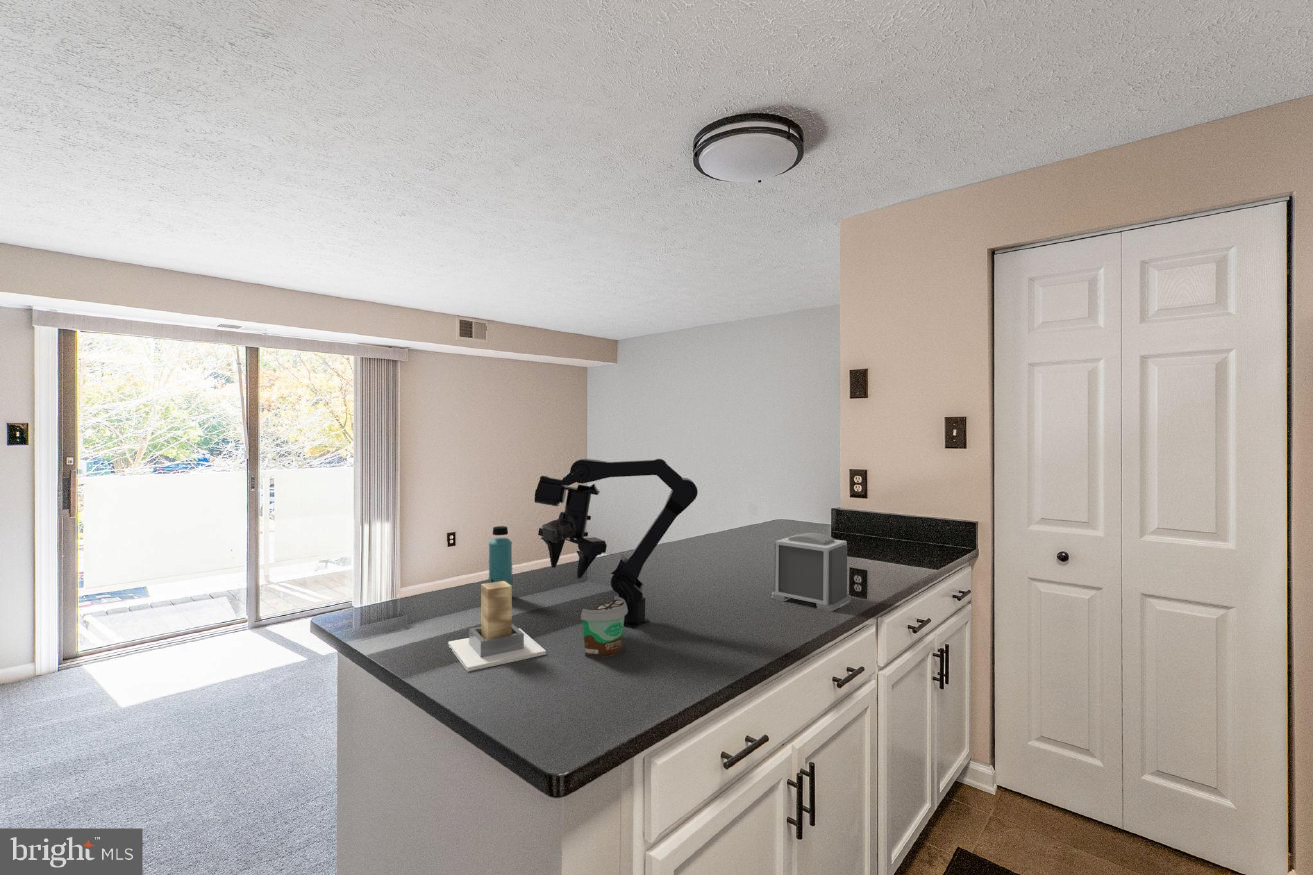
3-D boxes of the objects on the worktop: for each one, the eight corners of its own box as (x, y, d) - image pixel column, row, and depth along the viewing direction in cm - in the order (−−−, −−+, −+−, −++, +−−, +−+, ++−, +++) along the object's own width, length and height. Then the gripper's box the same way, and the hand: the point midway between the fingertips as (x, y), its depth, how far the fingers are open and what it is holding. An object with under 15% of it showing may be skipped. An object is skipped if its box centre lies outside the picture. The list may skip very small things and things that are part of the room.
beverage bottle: (517, 596, 161) (517, 525, 161) (501, 602, 155) (501, 529, 155) (499, 593, 164) (499, 523, 163) (482, 599, 158) (483, 527, 157)
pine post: (504, 640, 125) (504, 580, 125) (511, 647, 121) (511, 586, 120) (481, 644, 122) (481, 584, 122) (487, 652, 118) (488, 589, 118)
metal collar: (509, 635, 128) (509, 621, 127) (523, 648, 120) (523, 633, 120) (468, 643, 123) (468, 628, 123) (480, 657, 115) (480, 641, 115)
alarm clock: (852, 601, 158) (852, 535, 158) (832, 612, 148) (833, 542, 148) (791, 589, 170) (792, 527, 170) (769, 598, 160) (770, 533, 160)
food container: (604, 664, 114) (604, 614, 114) (580, 658, 117) (580, 609, 117) (638, 645, 124) (639, 599, 124) (615, 639, 128) (616, 595, 128)
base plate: (519, 631, 132) (519, 628, 132) (545, 654, 119) (545, 650, 119) (448, 645, 124) (448, 641, 124) (467, 671, 110) (467, 667, 110)
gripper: (526, 501, 138) (515, 564, 139) (579, 519, 127) (567, 587, 127) (560, 502, 147) (550, 561, 147) (613, 518, 136) (601, 582, 136)
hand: (565, 572), depth 139 cm, fingers open, 9 cm apart
